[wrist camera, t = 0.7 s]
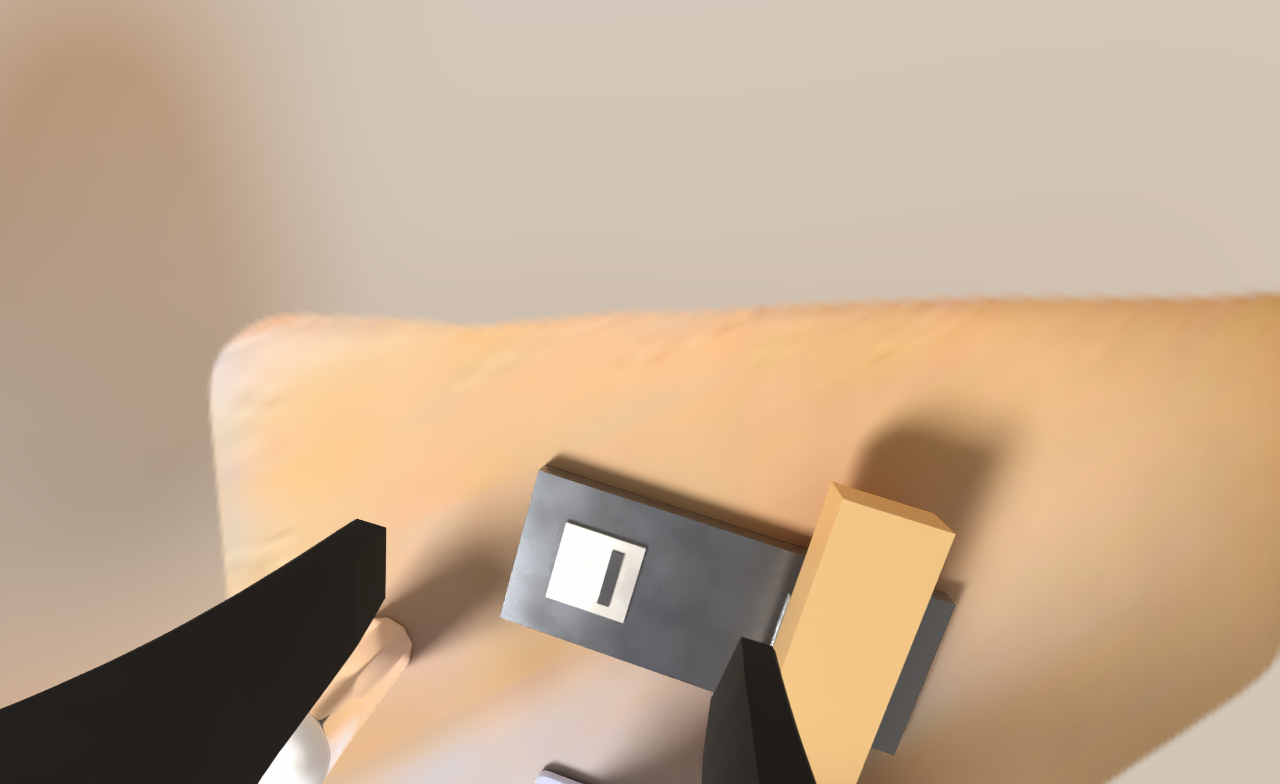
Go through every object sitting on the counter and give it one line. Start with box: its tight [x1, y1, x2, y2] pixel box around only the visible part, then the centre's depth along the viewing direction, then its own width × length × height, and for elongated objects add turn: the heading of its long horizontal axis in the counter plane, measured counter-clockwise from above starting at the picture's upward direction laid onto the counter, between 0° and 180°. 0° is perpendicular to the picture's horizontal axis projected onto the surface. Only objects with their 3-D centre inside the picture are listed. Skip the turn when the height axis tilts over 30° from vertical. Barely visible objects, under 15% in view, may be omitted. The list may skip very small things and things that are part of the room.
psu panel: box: [500, 465, 955, 755], centre depth 29 cm, size 8×20×1 cm, turn 74°
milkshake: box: [258, 617, 412, 784], centre depth 27 cm, size 4×5×10 cm
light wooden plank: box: [773, 482, 956, 784], centre depth 26 cm, size 16×4×2 cm, turn 164°
